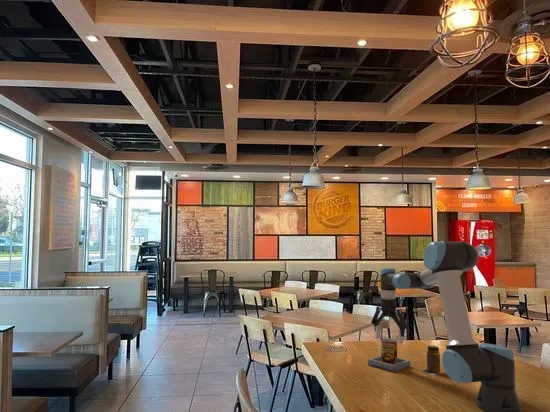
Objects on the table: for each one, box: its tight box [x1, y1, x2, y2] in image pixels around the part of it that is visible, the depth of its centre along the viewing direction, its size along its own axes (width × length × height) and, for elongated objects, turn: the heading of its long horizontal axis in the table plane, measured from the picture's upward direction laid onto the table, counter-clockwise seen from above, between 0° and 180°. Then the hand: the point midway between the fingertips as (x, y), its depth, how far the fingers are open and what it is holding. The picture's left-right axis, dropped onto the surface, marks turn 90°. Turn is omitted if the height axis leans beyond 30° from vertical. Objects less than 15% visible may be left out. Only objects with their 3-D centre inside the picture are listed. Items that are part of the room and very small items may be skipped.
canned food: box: [380, 337, 398, 365], centre depth 212 cm, size 8×8×12 cm
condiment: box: [421, 345, 445, 376], centre depth 203 cm, size 7×8×12 cm
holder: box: [367, 355, 411, 373], centre depth 211 cm, size 15×15×3 cm
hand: (389, 340), depth 212 cm, fingers open, 13 cm apart
